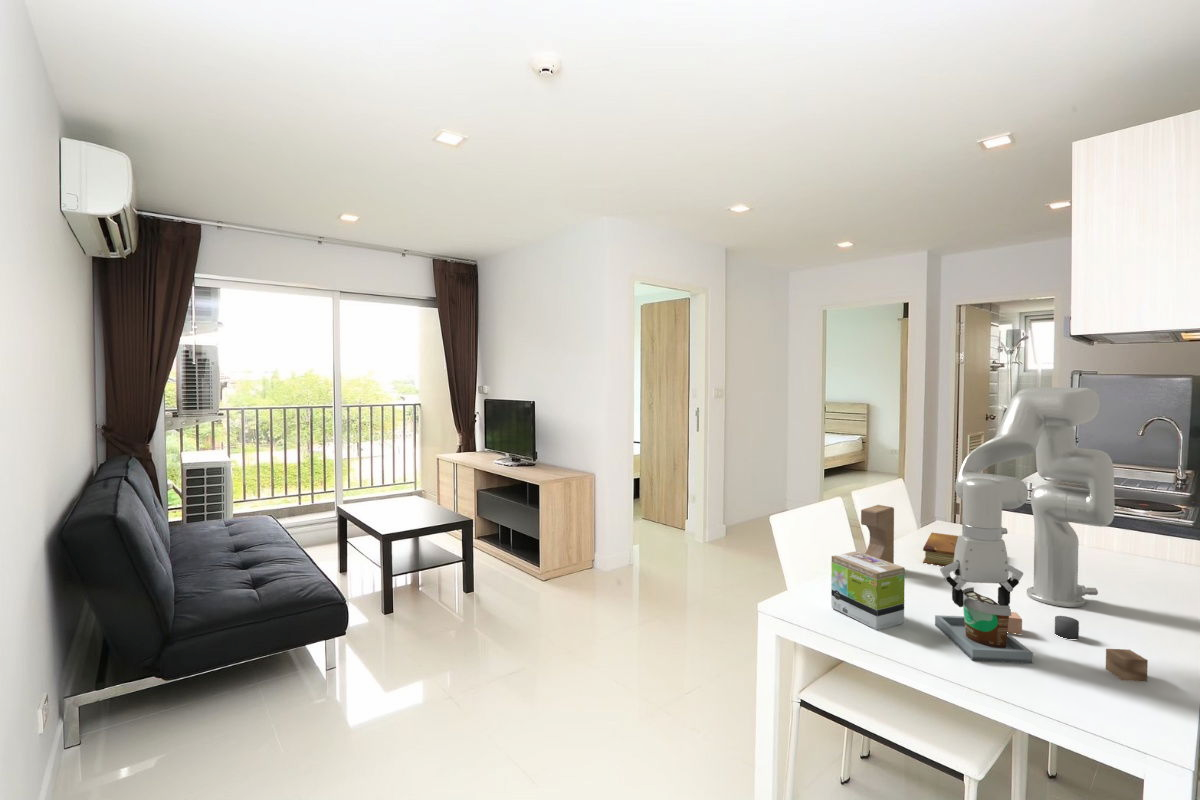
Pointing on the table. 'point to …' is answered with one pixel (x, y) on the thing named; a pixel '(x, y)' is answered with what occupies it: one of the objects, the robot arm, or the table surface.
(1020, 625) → the terracotta block
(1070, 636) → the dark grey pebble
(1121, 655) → the walnut cube
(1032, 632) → the table surface
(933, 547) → the diary
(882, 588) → the tea box
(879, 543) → the decorative block
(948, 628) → the tray
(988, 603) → the food container
